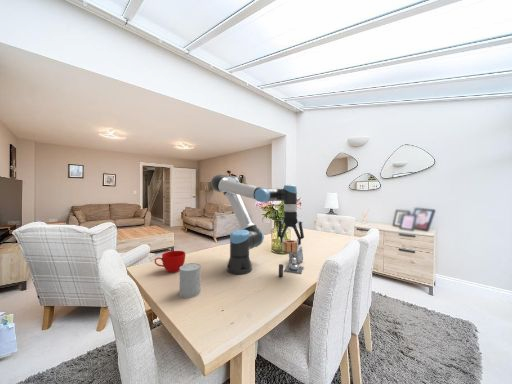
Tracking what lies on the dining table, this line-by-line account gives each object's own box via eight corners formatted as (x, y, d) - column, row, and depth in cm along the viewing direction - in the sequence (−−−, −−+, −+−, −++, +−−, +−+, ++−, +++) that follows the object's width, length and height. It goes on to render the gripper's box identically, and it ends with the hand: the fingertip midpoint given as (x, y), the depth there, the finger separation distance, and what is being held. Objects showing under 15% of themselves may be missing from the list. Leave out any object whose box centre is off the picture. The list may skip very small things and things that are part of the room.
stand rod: (278, 276, 119) (278, 265, 119) (279, 275, 121) (279, 264, 121) (282, 277, 118) (282, 266, 118) (283, 275, 120) (283, 264, 120)
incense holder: (292, 259, 150) (292, 244, 150) (303, 261, 146) (303, 246, 146) (286, 263, 142) (286, 247, 142) (298, 265, 137) (298, 249, 137)
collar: (282, 251, 123) (281, 242, 123) (286, 247, 130) (286, 239, 130) (295, 252, 119) (295, 243, 119) (299, 249, 127) (298, 240, 127)
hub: (284, 271, 127) (284, 259, 127) (287, 265, 136) (288, 255, 136) (301, 273, 123) (301, 262, 123) (303, 268, 133) (303, 257, 133)
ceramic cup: (154, 269, 127) (154, 253, 127) (183, 265, 135) (183, 249, 135) (154, 277, 116) (154, 259, 116) (186, 272, 124) (186, 255, 124)
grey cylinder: (192, 286, 106) (193, 261, 106) (204, 292, 100) (204, 266, 100) (175, 293, 99) (175, 267, 99) (186, 300, 93) (187, 272, 93)
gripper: (271, 211, 126) (271, 249, 126) (306, 212, 117) (307, 253, 117) (275, 210, 133) (276, 246, 133) (309, 211, 124) (309, 249, 124)
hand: (290, 249), depth 125 cm, fingers closed on collar, 8 cm apart
